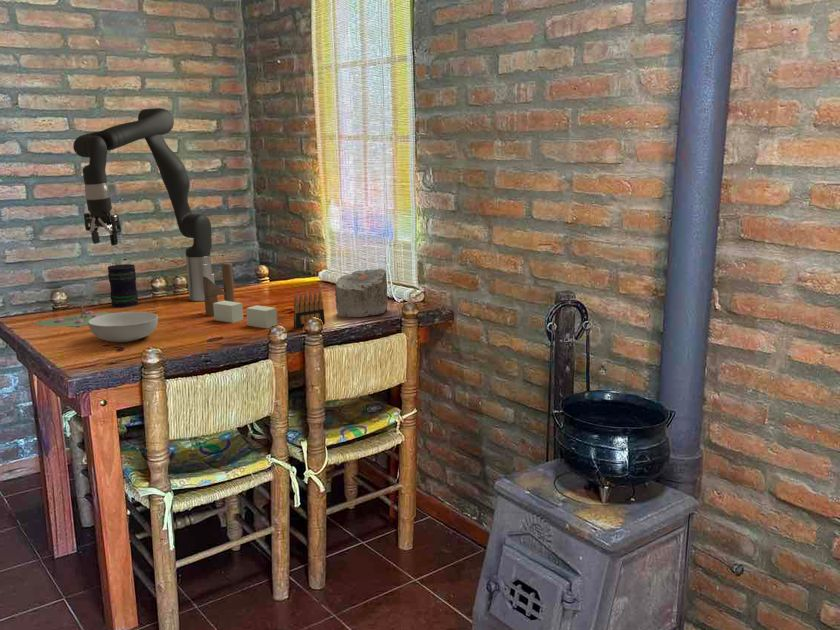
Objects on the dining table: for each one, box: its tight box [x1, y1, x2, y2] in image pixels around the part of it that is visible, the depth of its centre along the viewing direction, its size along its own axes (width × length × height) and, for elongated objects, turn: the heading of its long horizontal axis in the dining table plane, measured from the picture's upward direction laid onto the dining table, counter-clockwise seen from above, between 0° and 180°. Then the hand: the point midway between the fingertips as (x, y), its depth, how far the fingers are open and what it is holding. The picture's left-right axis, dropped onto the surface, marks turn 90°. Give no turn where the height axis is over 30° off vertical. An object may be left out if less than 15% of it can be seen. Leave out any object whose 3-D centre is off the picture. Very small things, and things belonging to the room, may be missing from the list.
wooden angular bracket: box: [203, 262, 236, 317], centre depth 286 cm, size 4×11×18 cm, turn 129°
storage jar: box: [107, 258, 139, 309], centre depth 303 cm, size 10×10×18 cm
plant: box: [33, 295, 112, 327], centre depth 280 cm, size 25×21×9 cm
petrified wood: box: [334, 268, 389, 318], centre depth 284 cm, size 19×17×15 cm
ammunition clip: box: [293, 288, 326, 329], centre depth 267 cm, size 11×2×12 cm, turn 123°
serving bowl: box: [88, 311, 159, 343], centre depth 254 cm, size 21×21×7 cm
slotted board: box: [213, 300, 278, 329], centre depth 273 cm, size 5×25×6 cm, turn 57°
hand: (105, 244), depth 270 cm, fingers open, 8 cm apart
